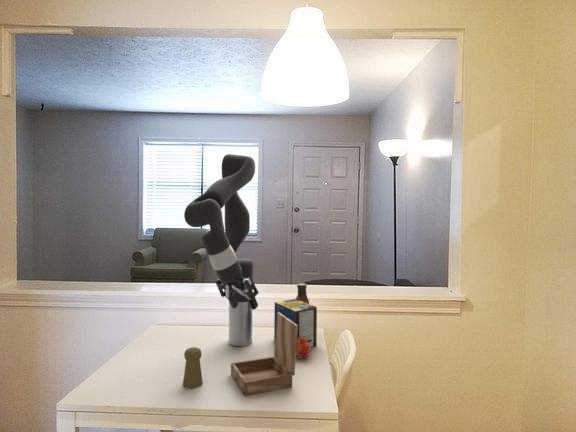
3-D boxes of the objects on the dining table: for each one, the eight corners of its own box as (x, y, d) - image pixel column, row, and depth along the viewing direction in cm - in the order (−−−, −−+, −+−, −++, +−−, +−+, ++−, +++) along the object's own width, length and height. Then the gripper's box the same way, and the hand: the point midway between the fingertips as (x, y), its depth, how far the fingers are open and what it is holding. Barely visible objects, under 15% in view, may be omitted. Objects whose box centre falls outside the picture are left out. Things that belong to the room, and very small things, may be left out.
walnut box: (230, 375, 133) (231, 363, 133) (274, 368, 139) (274, 356, 139) (244, 396, 120) (244, 382, 119) (292, 387, 125) (292, 374, 125)
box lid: (276, 312, 139) (279, 312, 139) (273, 357, 139) (276, 357, 139) (295, 325, 125) (298, 325, 125) (291, 375, 125) (294, 375, 126)
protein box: (294, 334, 173) (295, 298, 172) (316, 346, 160) (317, 306, 159) (273, 339, 167) (273, 301, 166) (294, 351, 154) (295, 310, 154)
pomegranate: (293, 367, 145) (316, 351, 144) (281, 349, 147) (304, 334, 145) (297, 361, 153) (318, 346, 151) (286, 344, 154) (307, 329, 153)
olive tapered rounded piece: (198, 389, 123) (198, 353, 123) (179, 387, 125) (179, 351, 124) (205, 380, 129) (206, 346, 129) (188, 378, 130) (188, 344, 130)
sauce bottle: (311, 328, 182) (312, 283, 181) (306, 332, 176) (307, 286, 175) (298, 325, 185) (298, 282, 184) (292, 330, 179) (293, 284, 178)
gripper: (249, 255, 121) (269, 301, 126) (217, 256, 130) (236, 299, 135) (233, 269, 116) (254, 316, 120) (201, 269, 124) (222, 313, 129)
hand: (245, 307), depth 127 cm, fingers open, 8 cm apart
